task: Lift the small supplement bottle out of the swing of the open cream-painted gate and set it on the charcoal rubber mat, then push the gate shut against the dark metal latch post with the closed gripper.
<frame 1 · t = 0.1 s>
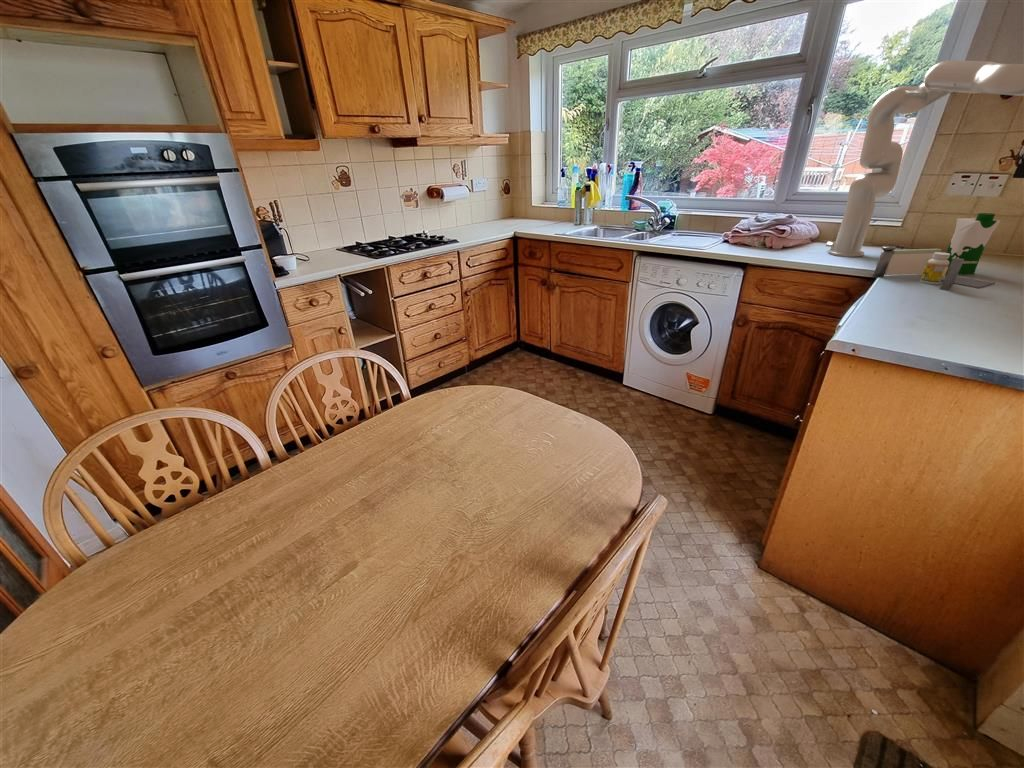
milk carton: (954, 272, 155), on the table
gate: (912, 262, 151), point 5 cm above the table, hinge at 65.0°
supplement bottle: (929, 283, 145), on the table
mat: (966, 282, 143), on the table
hinge post: (878, 276, 154), on the table
latch post: (945, 289, 138), on the table
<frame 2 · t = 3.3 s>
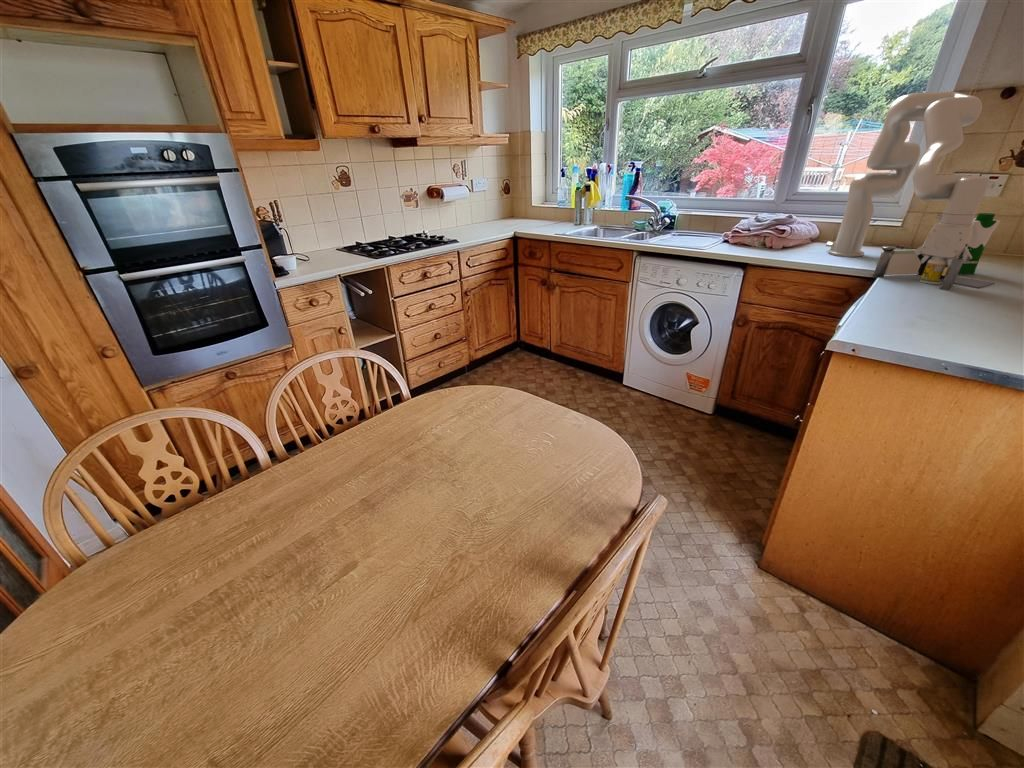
hand: (932, 276, 144), 2 cm above the table, fingers closed on supplement bottle, 5 cm apart
supplement bottle: (929, 283, 145), on the table, touching gripper
everything else where it was.
when the fingers open (3 cm above the table, at t = 7.5 s): supplement bottle stays where it is, resting on mat.
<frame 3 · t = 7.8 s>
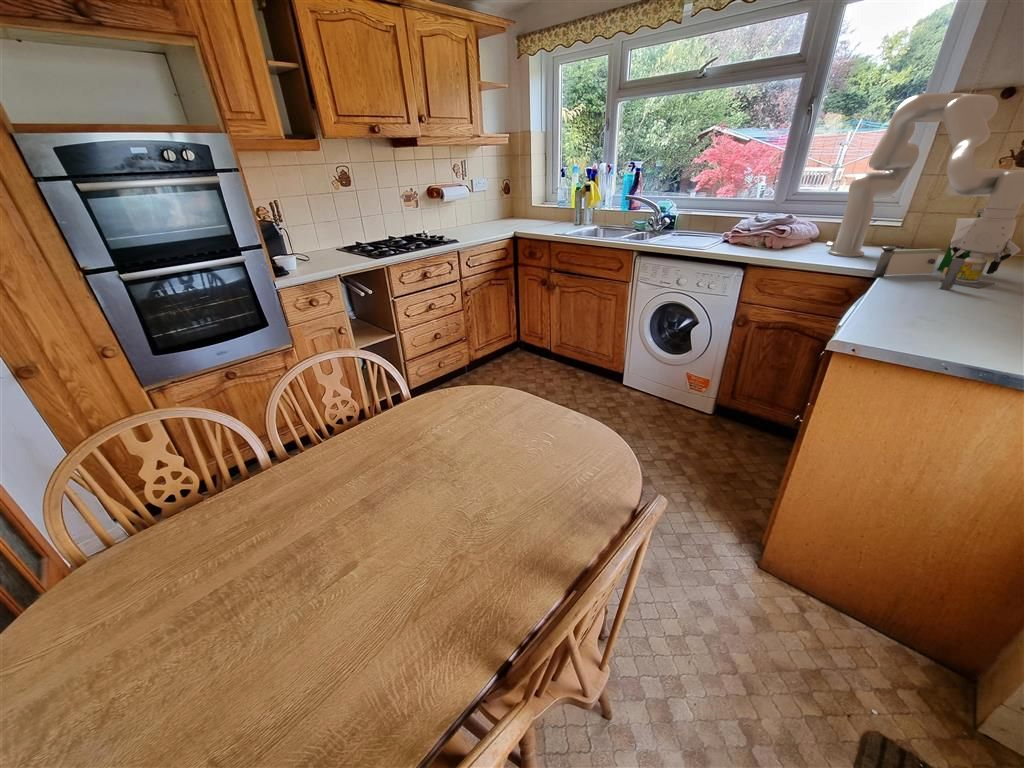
hand: (972, 270, 142), 4 cm above the table, fingers open, 8 cm apart
supplement bottle: (965, 281, 144), resting on mat
everything else where it was.
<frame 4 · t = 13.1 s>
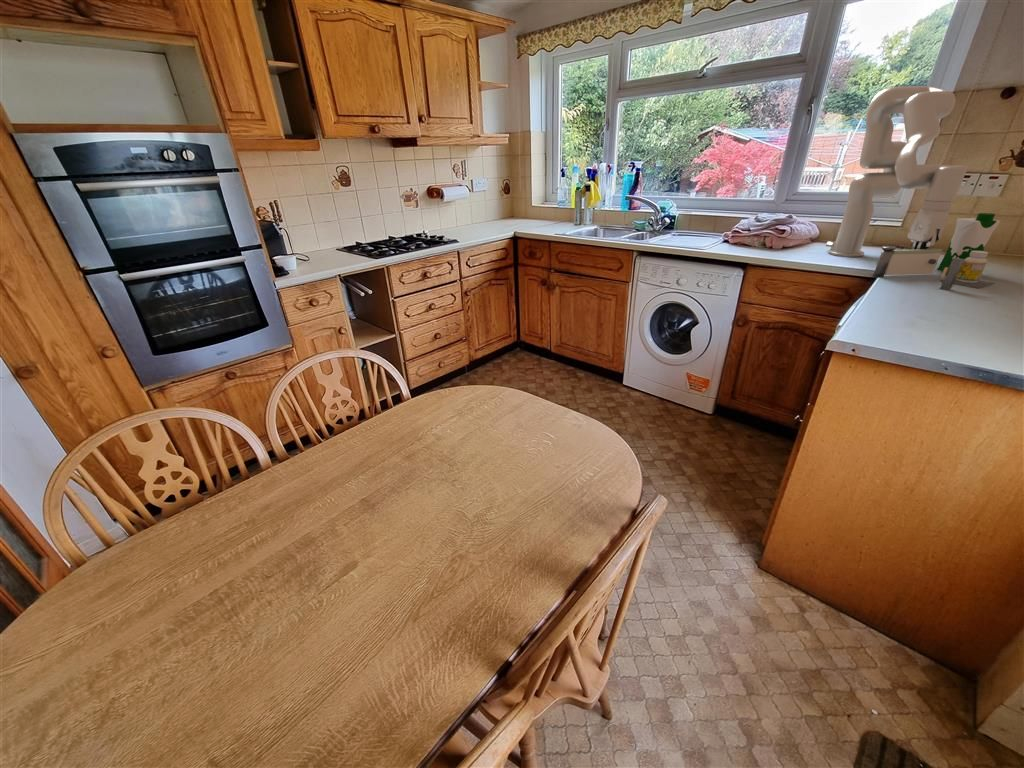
hand: (914, 261, 155), 4 cm above the table, fingers closed
gate: (913, 262, 151), point 5 cm above the table, hinge at 63.5°, touching gripper
everything else where it was.
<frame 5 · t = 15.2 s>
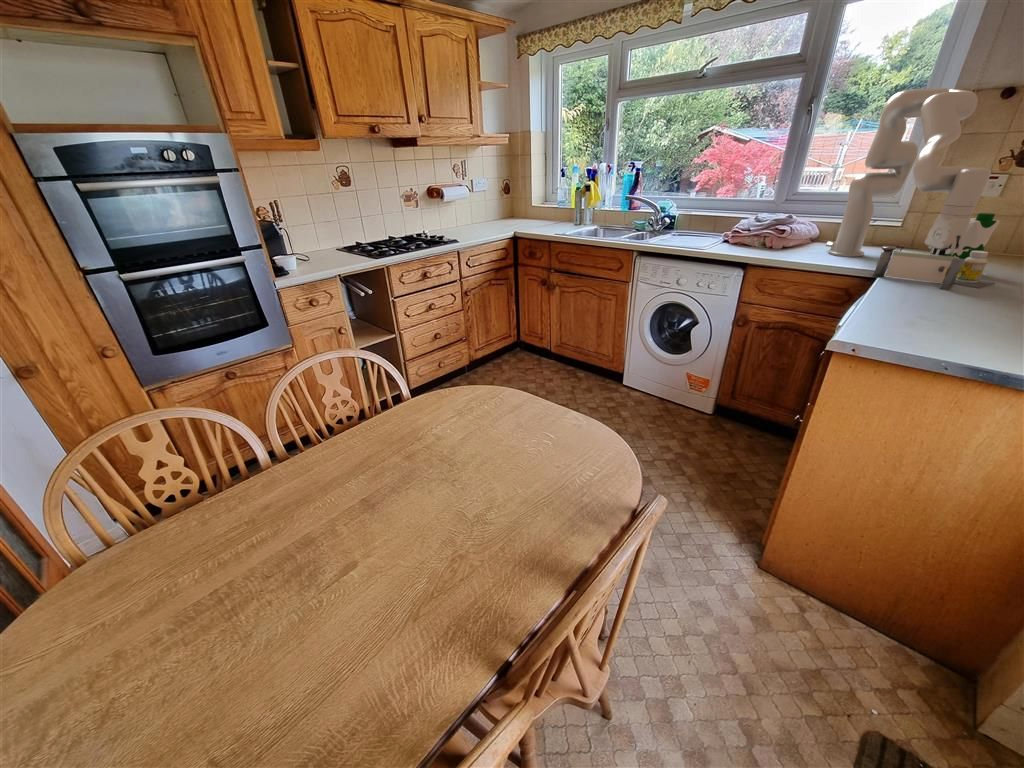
hand: (932, 268, 146), 4 cm above the table, fingers closed
gate: (919, 267, 145), point 5 cm above the table, hinge at 18.8°
everything else where it was.
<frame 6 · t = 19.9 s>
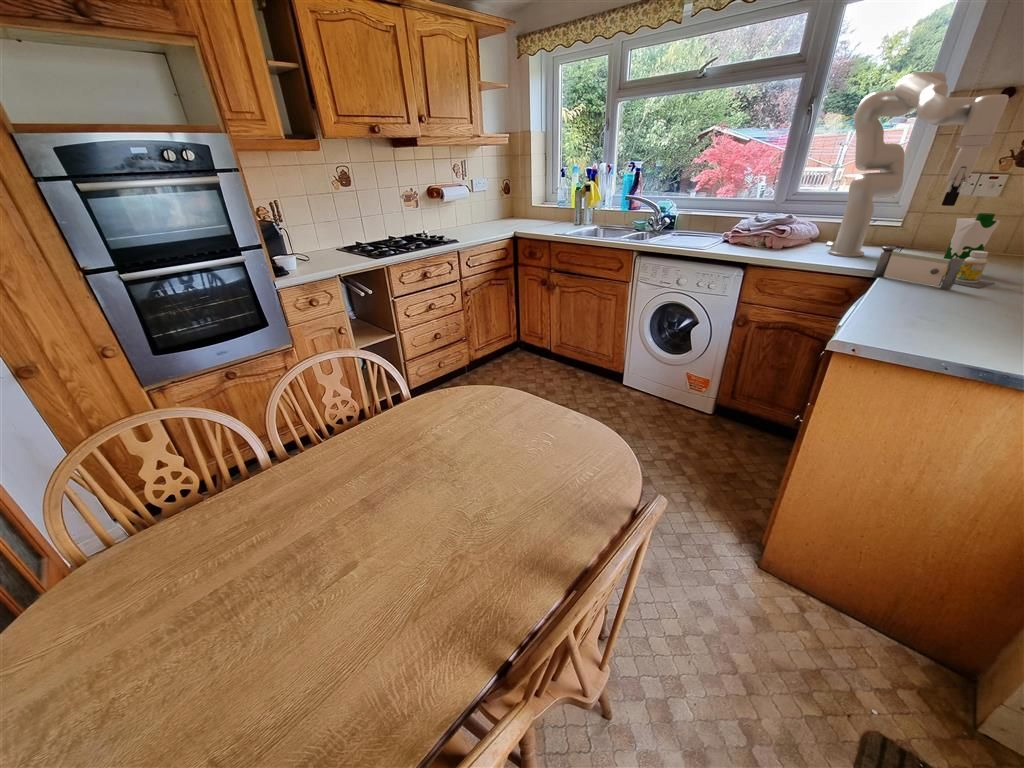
hand: (947, 205, 143), 23 cm above the table, fingers closed
gate: (914, 268, 144), point 5 cm above the table, hinge at -0.4°
everything else where it was.
at the end: gate at +0° (first picture: +65°); supplement bottle 0.3 cm from the mat (horizontally); supplement bottle tilted 0° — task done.
